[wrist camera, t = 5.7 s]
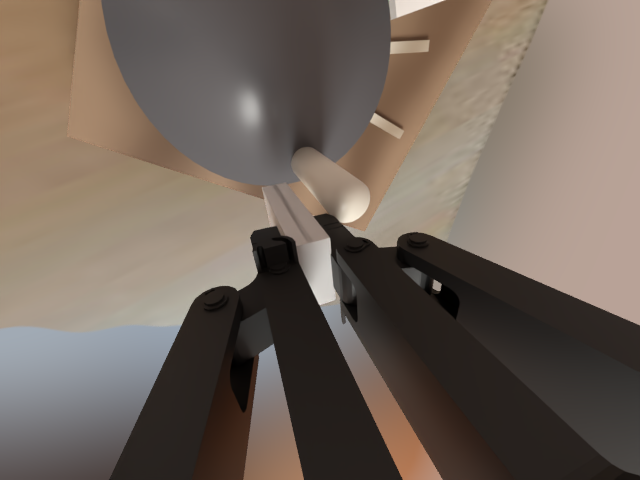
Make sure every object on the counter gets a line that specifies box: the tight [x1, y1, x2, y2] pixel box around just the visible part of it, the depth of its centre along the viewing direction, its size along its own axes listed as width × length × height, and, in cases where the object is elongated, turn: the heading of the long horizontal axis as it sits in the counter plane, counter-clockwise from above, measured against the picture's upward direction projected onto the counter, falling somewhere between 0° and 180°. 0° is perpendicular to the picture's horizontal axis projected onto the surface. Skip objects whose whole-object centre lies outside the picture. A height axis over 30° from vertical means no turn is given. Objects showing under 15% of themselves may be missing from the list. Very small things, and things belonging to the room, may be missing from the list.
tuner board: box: [67, 0, 492, 231], centre depth 17 cm, size 20×18×4 cm
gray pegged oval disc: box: [101, 0, 444, 223], centre depth 12 cm, size 18×14×8 cm
